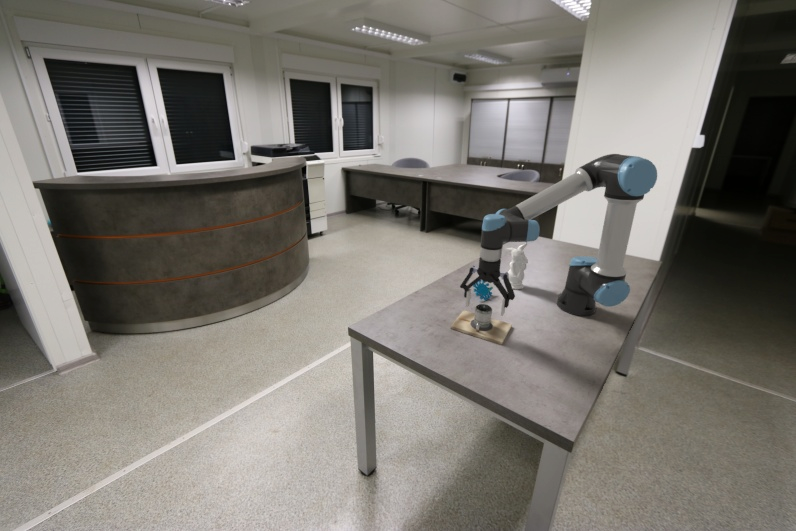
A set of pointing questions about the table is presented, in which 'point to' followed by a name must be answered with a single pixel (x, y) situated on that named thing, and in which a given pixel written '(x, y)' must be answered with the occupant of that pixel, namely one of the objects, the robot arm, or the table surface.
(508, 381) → the table surface
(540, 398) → the table surface
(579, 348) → the table surface
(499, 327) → the mount
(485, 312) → the camera lens
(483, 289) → the gear
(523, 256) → the white statue
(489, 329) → the seat
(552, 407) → the table surface
